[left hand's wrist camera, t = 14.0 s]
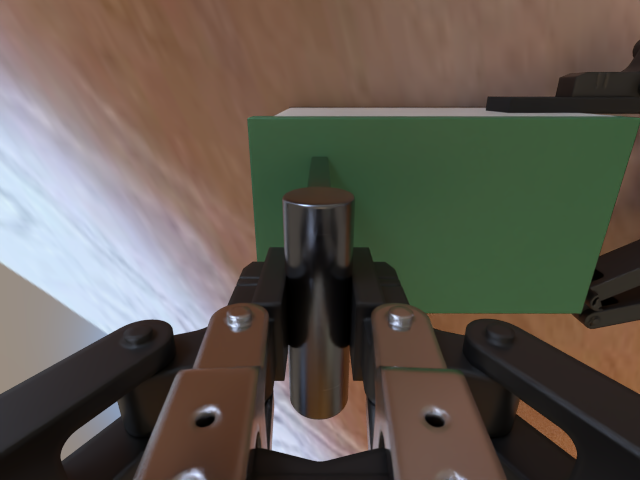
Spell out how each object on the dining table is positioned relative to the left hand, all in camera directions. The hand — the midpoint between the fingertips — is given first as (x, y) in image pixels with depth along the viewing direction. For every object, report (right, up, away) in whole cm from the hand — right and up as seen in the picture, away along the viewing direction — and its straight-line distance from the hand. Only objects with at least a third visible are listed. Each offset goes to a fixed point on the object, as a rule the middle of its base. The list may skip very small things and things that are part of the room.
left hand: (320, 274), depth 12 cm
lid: (+5, +2, +6) cm, 8 cm away
